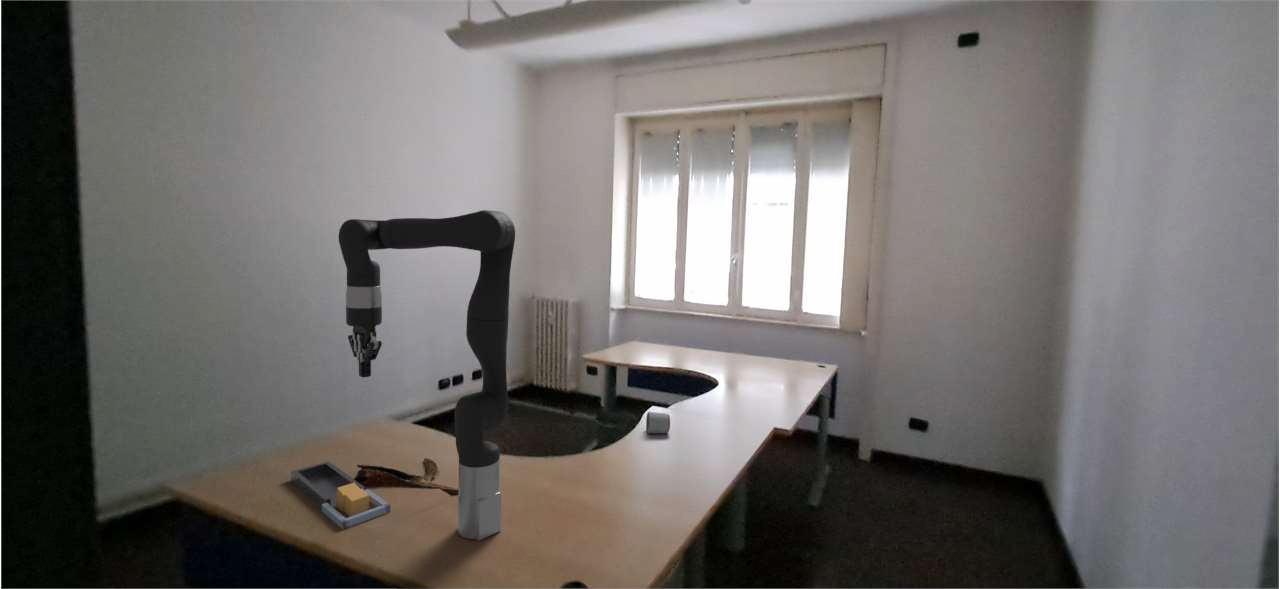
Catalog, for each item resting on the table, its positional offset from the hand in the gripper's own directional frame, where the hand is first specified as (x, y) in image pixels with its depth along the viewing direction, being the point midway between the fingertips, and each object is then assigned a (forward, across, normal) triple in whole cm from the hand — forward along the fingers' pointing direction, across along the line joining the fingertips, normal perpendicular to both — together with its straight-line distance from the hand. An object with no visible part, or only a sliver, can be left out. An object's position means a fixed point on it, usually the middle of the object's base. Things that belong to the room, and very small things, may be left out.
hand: (364, 376), depth 128 cm
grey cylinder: (+35, -15, -98) cm, 105 cm away
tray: (+35, +1, +2) cm, 35 cm away
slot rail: (+35, +18, +2) cm, 40 cm away
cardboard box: (+34, +1, +2) cm, 34 cm away
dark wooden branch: (+36, +11, -19) cm, 42 cm away
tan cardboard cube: (+34, +5, +2) cm, 34 cm away
